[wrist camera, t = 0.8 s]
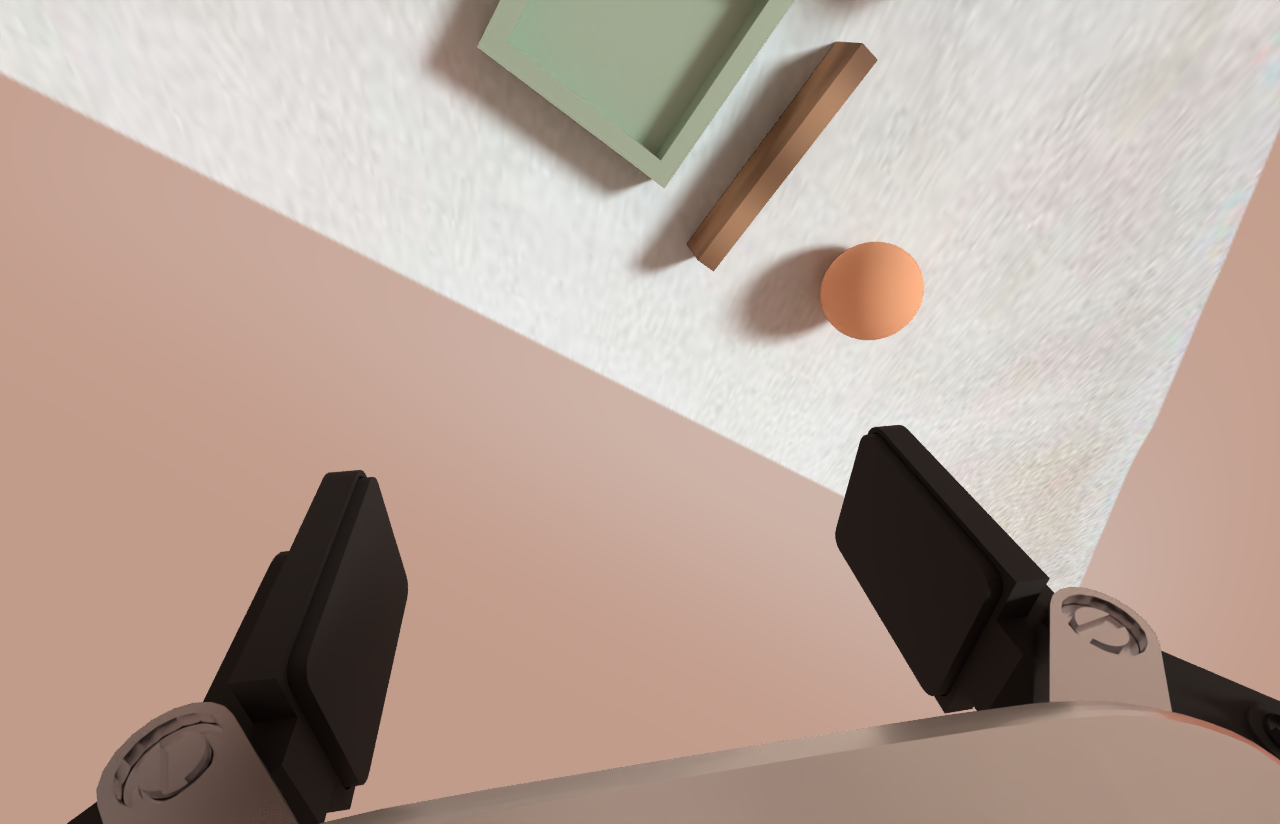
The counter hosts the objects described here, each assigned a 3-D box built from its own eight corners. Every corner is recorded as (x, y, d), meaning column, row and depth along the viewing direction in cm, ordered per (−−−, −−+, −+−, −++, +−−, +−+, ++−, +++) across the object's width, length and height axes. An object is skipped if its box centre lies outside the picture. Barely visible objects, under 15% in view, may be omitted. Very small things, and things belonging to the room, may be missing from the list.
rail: (836, 41, 31) (862, 43, 28) (850, 57, 31) (877, 59, 29) (686, 243, 36) (697, 260, 33) (701, 254, 36) (713, 271, 34)
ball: (852, 210, 36) (903, 240, 31) (909, 261, 39) (964, 296, 34) (787, 287, 38) (825, 326, 33) (845, 331, 41) (888, 372, 36)
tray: (606, -205, 24) (612, -227, 22) (785, -13, 29) (805, -16, 27) (480, 45, 28) (476, 47, 26) (656, 178, 33) (664, 188, 31)
